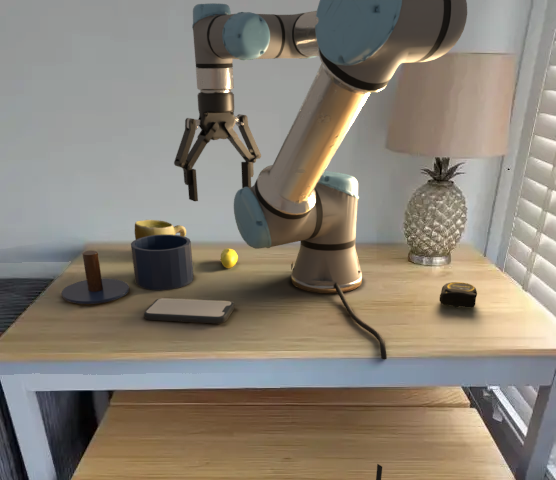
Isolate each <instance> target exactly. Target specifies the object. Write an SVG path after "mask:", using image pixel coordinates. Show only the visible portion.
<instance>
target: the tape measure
mask: <svg viewBox="0 0 556 480" xmlns="http://www.w3.org/2000/svg"><path fill="white" fill-rule="evenodd" d="M477 296H478V292H477V288H476V287H475V286H474V285H473V284H470V283H467V282H461V281H452V282H448V283H445V284H443V285H442V287H441V290H440V294H439V303H440V304H441V305H444V306H448V307H453V308H454V309H455V308H457V309H458V308H467V309H474V308H475V306H476V301H477Z"/></svg>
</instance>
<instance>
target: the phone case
mask: <svg viewBox="0 0 556 480" xmlns="http://www.w3.org/2000/svg"><path fill="white" fill-rule="evenodd" d="M234 310H235V302H233V301H230V300H218V299H217V300H215V299H195V298H194V299H192V298H172V297H171V298H170V297H161V298H157V299H156V300H155V301H153V302H152V303H151V304H150V305H149V306H148V307H147V309H145V310H144V312H143V317H144V319H145V320H147V321H149V320H150V321H160V322H161V321H162V322H178V323H179V322H181V323H197V324H198V323H201V324H216V325H217V324H224V323H226V321H227V320H228V319H229V317H230V316H231V314H232V313H233V311H234Z"/></svg>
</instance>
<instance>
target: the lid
mask: <svg viewBox="0 0 556 480" xmlns="http://www.w3.org/2000/svg"><path fill="white" fill-rule="evenodd" d="M81 254H82V260H83V267H84V273H85V279H84V280H80V281H76V282H73V283H71V284H69V285H67V286H65V287H64V288H63V289H62V290H61V297H62V299H63V300H65V301H66V302H69V303H73V304H78V305H95V304H103V303H108V302H112V301H115V300H119V299H120V298H123V297H125V296H126V295H127V294H128V293H129V292H130V285H129V284H128V282H126V281H123V280H121V279H116V278H105V277H104V278H102V272H101V264H100V258H99V253H98V251H97V250H85V251H83V252H82V253H81Z"/></svg>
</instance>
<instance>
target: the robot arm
mask: <svg viewBox="0 0 556 480" xmlns="http://www.w3.org/2000/svg"><path fill="white" fill-rule="evenodd" d="M230 7H231V6H229V5H228V4H226V3H216V2H215V3H198V4H195V5H194V6H193V8H192V24H191V25H192V26H191V28H192V35H193V47H194V60H195V61H194V62H195V76H196V77H195V78H196V89H197V90H198V91H199V92H198V93H197V96H196V97H197V110H198V114H199V115H198V118H197V119H196V118H190V117H186V118H185V120H184V131H183V135H182V137H181V140H180V143H179V146H178V149H177V153H176V155H175V158H174V161H173V165H174V166H175V167H178V168H181V169H182V171H183V182H184V185H186V186H187V189H188V200H190V201H193V202H199V195H198V181H197V170H196V169H195V168H193V167H194V166H195V164H196V163H197V161H198V160H199V158H200V157H201V154H202V153H203V151H204V150H205V148H206V146H207V144H208V143H210V142H211V141H218V140H228V141H229V142H230V143H231V145H232V146H233V148H235V150H236V151H237V152H238V154H239V155H240V156H241V158H242V159H243V160H244V161H240V166H241V168H240V169H241V188H239V189H238V190H237V191H236V192H235V195H234V199H233V214H234V220H235V224H236V227H237V230H238V231H239V232H238V233H239V234H240V236H241V238H242V240H243V241H244V243H246V245H248V247H250V248H253V249H256V250H257V249H259V250H260V249H270V248H273V247H279V246H283V245H287V244H294V243H296V242H300V244H299V245H300V246H299V250H298V253H297V256H296V260H295V263H294V261H292V262H291V264H290V269H291V283H292V284H293V286H294V287H296V288H297V289H300V290H303V291H306V292H312V293H319V294H337V295H338V297H339V298H340V301H341V302H342V304H343V306H344V308H345V310H346V311H347V313H348V314H349V316H350V317H351V319H352V321H354V322H355V323H356V324H357V325H358V326H360V327H361V328H363V329H364V330H366V331H367V332H369V333H370V334H371V335H373V336H374V337H375V339H377V341H378V342H379V350H380V352H379V353H380V358H381V360H384V361H385V360H387V359H388V355H387V347H386V340H385V339H384V338H383V336H382V335H381V333H379V331H377V330H376V329H375V328H374V327H372V326H370V325H369V324H367V323H366V322H364V321H363V320H362V319H361V318H359V316H358V315H357V314H356V313H355V312H354V310H353V309H352V307H351V305H350V304H349V302H348V300H347V298H346V295H345V294H344V293H346V292H350V291H353V290H355V289H357V288H359V287H360V286H361V285H362V282H363V280H362V279H363V272H362V269H361V265H360V261H359V258H358V253H357V250H356V239H357V237H356V236H357V219H358V205H359V199H360V196H359V182H358V180H357V178H356V177H355V176H353V175H351V174H347V173H342V172H337V171H329V170H326V169H327V167H328V166H329V165H330V163H331V161H332V159H333V157H334V156H335V154H336V153H337V150H338V149H339V147H340V146H341V144H342V142H343V140H344V139H345V137H346V136H347V133H348V132H349V130H350V128H351V127H352V125H353V123H354V122H355V120H356V118H357V117H358V115H359V113H360V111H361V110H362V107H363V106H364V105H365V103H366V101H367V99H368V97H370V94H372V93H378V92H380V91H382V90H384V89H385V88H386V87H387V85H388V84H389V82H390V80H391V79H392V77H393V76H394V74H395V72H396V71H397V69H398V68H399V66H400V65H401V64H407V63H425V62H430V61H434V60H436V59H438V58H441V57H442V56H444V55H446V54H447V53H448V52H450V51H451V50H452V48H454V46H456V44H457V43H458V41H459V40H460V39H461V37H462V35H463V32H464V30H465V27H466V25H467V20H468V19H467V18H468V2H467V0H319V2H318V4H317V8H316V10H312V11H306V12H301V13H295V14H272V13H271V14H270V13H255V12H250V11H246V12H245V11H238V12H237V13H231V12H232V11H231V8H230ZM317 57H319V61H320V65H319V68H318V70H317V72H316V74H315V76H314V79H313V80H312V83H311V84H310V86H309V88H308V91H307V93H306V95H305V97H304V99H303V101H302V103H301V105H300V108H299V110H298V112H297V113H296V116H295V118H294V120H293V121H292V124H291V126H290V128H289V130H288V133H287V134H286V137H285V139H284V140H283V143H282V145H281V147H280V148H279V150H278V153H277V156H276V157H275V159H274V161H273V164H270V165H267V166H266V167H263V169H262V170H260V172H259V174H258V175H257V179H256V180H255V182H254V184H253V185H252V178H253V177H254V174H255V171H254V164H255V163H256V162H257V160H258V159H261V158H262V154H261V152H260V151H261V150H260V148H259V147H258V144H257V143H256V140H255V137H254V136H253V133H252V130H251V128H250V126H249V120H248V116H247V115H246V114H240V113H238V114H237V115H235V113H234V112H235V94H234V92H232V90H233V89H234V88H235V86H234V64H233V61H234V60H239V61H251V60H266V59H267V60H269V59H270V60H271V59H300V60H302V59H303V60H305V59H308V60H309V59H312V58H317ZM235 125H236V126H237V127H238V130H239V132H240V134H241V137H242V139H243V141H242V140H241V139H240V137H239V135H238V134H237V132H236V131H235V129H234V127H235ZM198 128H200V132H199V133H198V135H197V137H196V138H197V139H196V140H195V142H194V143H193V141H194V138H195V135H196V131H197V129H198ZM243 142H244V143H245V144H244V143H243ZM192 143H193V145H192ZM376 464H377V465H376V476H375V480H382V474H383V466H382V465H380V464H379V463H376Z"/></svg>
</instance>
